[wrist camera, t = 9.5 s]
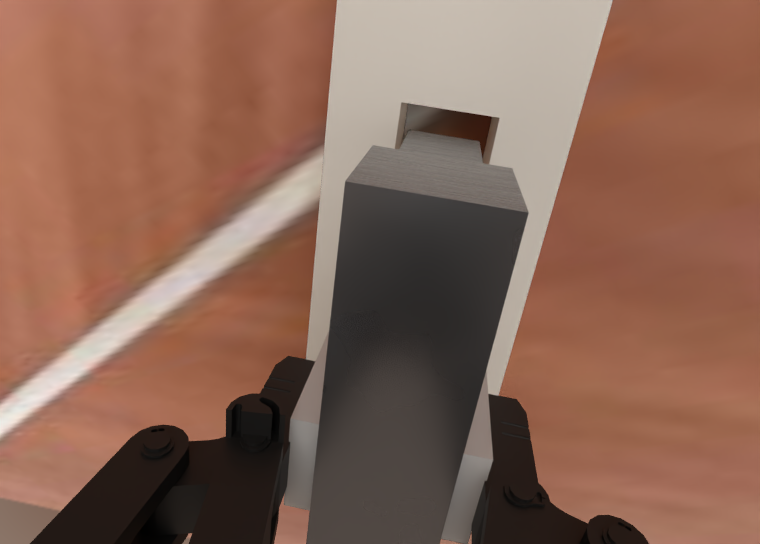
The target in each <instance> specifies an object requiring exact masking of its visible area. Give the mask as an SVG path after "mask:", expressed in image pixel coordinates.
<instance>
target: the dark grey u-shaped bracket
mask: <svg viewBox="0 0 760 544" xmlns="http://www.w3.org/2000/svg"><path fill="white" fill-rule="evenodd" d="M528 214H529V212H528V209H527V206H526V204H525V201H524V198H523V196H522V193H521V190H520V188H519V185H518V182H517V180H516V177H515V174H514V172H513V169H512V168H508V167H502V166H496V165H490V164H484V163H483V159H482V154H481V148H480V142H479V141H476V140H470V139H464V138H458V137H451V136H445V135H439V134H433V133H427V132H421V131H414V130H409V131H408V133H407V135H406V137H405V139H404V141H403V143H402V145H401V147H400V149H393V148H387V147H381V146H375V145H373V146H372V147H371V148H370V149H369V151H368V152H367V153H366V155H365V156H364V157H363V159H362V160H361V161H360V162H359V164H358V165H357V166H356V168H355V169H354V170H353V172H352V173H351V174H350V175H349V177H348V178H347V179H346V181H345V187H344V196H343V205H342V215H341V224H340V233H339V243H338V252H337V261H336V271H335V280H334V289H333V299H332V308H331V317H330V327H329V336H328V345H327V355H326V364H325V373H324V383H323V392H322V401H321V411H320V420H319V430H318V439H317V448H316V458H315V467H314V476H313V486H312V495H311V504H310V514H309V523H308V532H307V542H306V544H440V540H441V536H442V532H443V529H444V525H445V521H446V518H447V514H448V510H449V506H450V503H451V499H452V495H453V492H454V488H455V484H456V481H457V477H458V473H459V469H460V466H461V462H462V458H463V455H464V451H465V447H466V443H467V440H468V436H469V432H470V429H471V425H472V421H473V418H474V414H475V410H476V406H477V403H478V399H479V395H480V392H481V388H482V384H483V380H484V377H485V373H486V369H487V366H488V362H489V358H490V355H491V351H492V347H493V343H494V340H495V336H496V332H497V329H498V325H499V321H500V318H501V314H502V310H503V306H504V303H505V299H506V295H507V292H508V288H509V284H510V280H511V277H512V273H513V269H514V266H515V262H516V258H517V255H518V251H519V247H520V243H521V240H522V236H523V232H524V229H525V225H526V221H527V217H528Z"/></svg>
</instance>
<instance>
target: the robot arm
mask: <svg viewBox="0 0 760 544" xmlns="http://www.w3.org/2000/svg"><path fill="white" fill-rule="evenodd" d="M328 336H329V332H328V334H327V336H326V339H325V341H324V343H323V345H322V348H321V350H320V352H319V355H318V357H317V359H316V361H312V360H307V359H302V358H296V357H291V356H288V357H286V358H285V359H283V360H282V361H281V362H279V363H278V364H276V365H275V367H274V369H273V371H272V373H271V374H270V376H269V379H268V380H267V382H266V384H265V385H264V388H263V389H262V391H261V393H260V394H248V395H245V396H241V397H239V398H237V399H236V400H234V401H233V402H231V403H230V405H229V406H228V408H227V409H226V437H223V438H220V439H215V440H206V441H189V439H188V436H187V435H186V433H185V432H184V431H183V430H182V429H179V428H177V427H175V426H170V425H158V426H151V427H149V428H146V429H144V430H141V431H139V432H138V433H137V434H135V435H134V436H133V437H131V438H130V439H129V440H128V441H127V442H126V444H125V445H124V446H123V447H122V448H121V449H120V450H119V451H118V452H117V453H116V454H115V455H114V456H113V457H112V458H111V459H110V460H109V461H108V462H107V463H106V464H105V466H104V467H103V468H102V469H101V470H100V471H99V472H98V473H97V474H96V475H95V476H94V477H93V478H92V479H91V480H90V481H89V482H88V483H87V484H86V485H85V486H84V488H83V489H82V490H81V491H80V492H79V493H78V494H77V495H76V496H75V497H74V498H73V499H72V500H71V501H70V502H69V503H68V504H67V505H66V506H65V507H64V509H63V510H62V511H61V512H60V513H59V514H58V515H57V516H56V517H55V518H54V519H53V520H52V521H51V522H50V523H49V524H48V525H47V526H46V527H45V529H43V531H42V532H41V533H40V534H39V535H38V536H37V537H36V538H35V539H34V540H33V541H32V542H31V543H30V544H182V543H183V542H184V540H185V539H186V537H187V536H188V533H192V536H191V539H190V542H189V544H274V540H275V535H276V530H277V524H278V515H279V506H280V504H281V501H282V498H283V496H284V493H285V496H284V505H287V506H291V507H296V508H301V509H305V510H310V504H311V495H312V486H313V476H314V467H315V458H316V448H317V439H318V430H319V420H320V411H321V401H322V392H323V383H324V373H325V364H326V355H327V345H328ZM528 427H529V426H528V420H527V414H526V412H525V410H524V409H523V408H522V406H521V405H520V403H519V402H518V400H517V399H512V398H507V397H502V396H497V395H492V394H488V384H487V371H486V373H485V377H484V380H483V384H482V388H481V392H480V395H479V399H478V403H477V406H476V410H475V414H474V418H473V421H472V425H471V429H470V432H469V436H468V440H467V443H466V447H465V451H464V455H463V458H462V462H461V466H460V469H459V473H458V477H457V481H456V484H455V488H454V492H453V495H452V499H451V503H450V506H449V510H448V514H447V518H446V521H445V525H444V529H443V532H442V536H441V539H444V540H449V541H454V542H458V543H463V544H468V541H469V538H470V534H471V531H472V544H649V543H648V541H647V540H646V538H645V537H644V535H643V534H642V533H641V532H639V531H638V530H637V529H636V528H635V527H634V526H633V525H631V524H629V523H628V522H626V521H624V520H622V519H621V518H617V517H614V516H610V515H598V516H596V517H594V518H592V519H590V521H589V523H588V524H587V523H585V522H583V521H581V520H579V519H577V518H575V517H573V516H571V515H569V514H567V513H565V512H563V511H561V510H560V509H558V508H557V507H556V506H554V505H553V504H552V503H551V502H550V500H549V496H548V494H547V493H546V491H545V490H544V488H543V487H542V486H541V485H540V484H539V483H538V479H537V473H536V467H535V461H534V456H533V450H532V444H531V441H530V432H529V429H528Z"/></svg>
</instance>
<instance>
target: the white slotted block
mask: <svg viewBox="0 0 760 544" xmlns="http://www.w3.org/2000/svg"><path fill="white" fill-rule="evenodd" d="M612 1H613V0H337V8H336V19H335V31H334V42H333V54H332V65H331V77H330V88H329V100H328V111H327V123H326V134H325V146H324V157H323V169H322V180H321V192H320V203H319V215H318V226H317V238H316V249H315V261H314V272H313V284H312V295H311V307H310V318H309V330H308V341H307V353H306V359H307V360H312V361H316V359H317V357H318V355H319V352H320V350H321V348H322V345H323V343H324V341H325V339H326V336H327V334H328V332H329V327H330V317H331V308H332V299H333V289H334V280H335V271H336V261H337V252H338V243H339V233H340V224H341V215H342V205H343V196H344V187H345V181H346V179H347V178H348V177H349V175H350V174H351V173H352V172H353V170H354V169H355V168H356V166H357V165H358V164H359V162H360V161H361V160H362V159H363V157H364V156H365V155H366V153H367V152H368V151H369V149H370V148H371V147H372V146H373V145H375V146H381V147H387V148H393V149H400V147H401V145H402V141H403V135H404V128H405V121H406V115H407V108H408V103H410V104H416V105H422V106H428V107H435V108H441V109H447V110H454V111H460V112H466V113H472V114H479V115H485V116H491V117H492V118H491V123H490V128H489V132H488V137H487V141H486V146H485V150H484V155H483V163H484V164H490V165H496V166H502V167H508V168H512V169H513V172H514V174H515V177H516V180H517V182H518V185H519V188H520V190H521V193H522V196H523V198H524V201H525V204H526V206H527V209H528V212H529V214H528V217H527V221H526V225H525V229H524V232H523V236H522V240H521V243H520V247H519V251H518V255H517V258H516V262H515V266H514V269H513V273H512V277H511V280H510V284H509V288H508V292H507V295H506V299H505V303H504V306H503V310H502V314H501V318H500V321H499V325H498V329H497V332H496V336H495V340H494V343H493V347H492V351H491V355H490V358H489V362H488V366H487V369H486V371H487V384H488V394H492V395H497V396H498V395H499V392H500V388H501V385H502V381H503V378H504V374H505V371H506V367H507V364H508V360H509V357H510V354H511V350H512V347H513V343H514V340H515V336H516V333H517V329H518V326H519V322H520V319H521V316H522V312H523V309H524V305H525V302H526V298H527V295H528V291H529V288H530V284H531V281H532V278H533V274H534V271H535V267H536V264H537V260H538V257H539V253H540V250H541V247H542V243H543V240H544V236H545V233H546V229H547V226H548V222H549V219H550V215H551V212H552V209H553V205H554V202H555V198H556V195H557V191H558V188H559V184H560V181H561V177H562V174H563V171H564V167H565V164H566V160H567V157H568V153H569V150H570V146H571V143H572V139H573V136H574V133H575V129H576V126H577V122H578V119H579V115H580V112H581V108H582V105H583V102H584V98H585V95H586V91H587V88H588V84H589V81H590V77H591V74H592V70H593V67H594V64H595V60H596V57H597V53H598V50H599V46H600V43H601V39H602V36H603V32H604V29H605V26H606V22H607V19H608V15H609V12H610V8H611V5H612Z"/></svg>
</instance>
